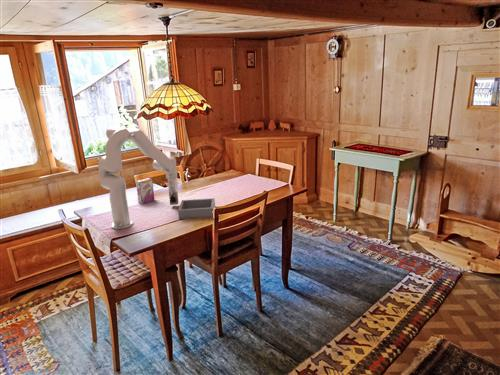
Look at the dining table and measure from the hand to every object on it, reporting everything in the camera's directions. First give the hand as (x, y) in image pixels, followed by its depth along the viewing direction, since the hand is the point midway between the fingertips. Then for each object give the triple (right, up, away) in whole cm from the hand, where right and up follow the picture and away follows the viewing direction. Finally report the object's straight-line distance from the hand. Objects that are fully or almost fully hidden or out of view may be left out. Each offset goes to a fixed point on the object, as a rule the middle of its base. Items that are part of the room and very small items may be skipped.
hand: (174, 200), depth 250 cm
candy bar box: (-23, -1, +15) cm, 28 cm away
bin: (+18, -7, -13) cm, 24 cm away
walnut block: (0, -2, 0) cm, 2 cm away
